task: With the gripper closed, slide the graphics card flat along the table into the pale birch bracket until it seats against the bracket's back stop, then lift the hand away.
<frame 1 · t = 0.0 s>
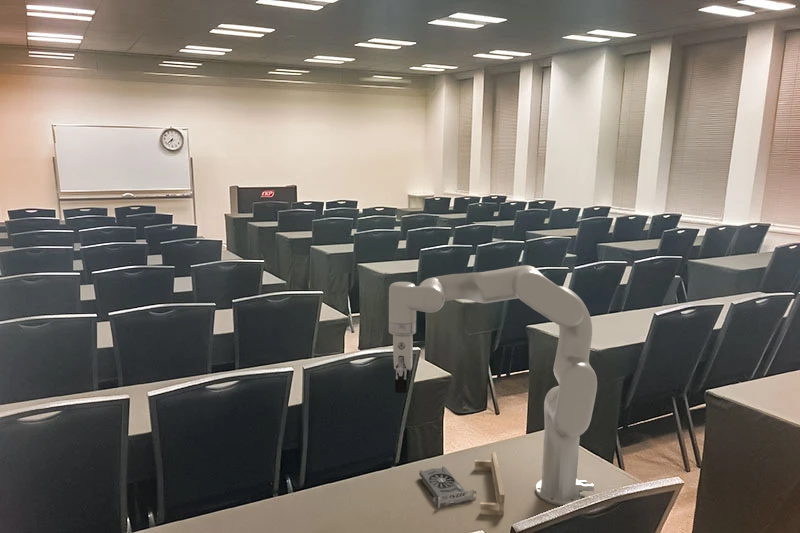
hand: (402, 385, 159), 31 cm above the table, tool pointing down, fingers open, 9 cm apart
graphics card: (445, 491, 164), on the table
birch bracket: (473, 489, 163), on the table
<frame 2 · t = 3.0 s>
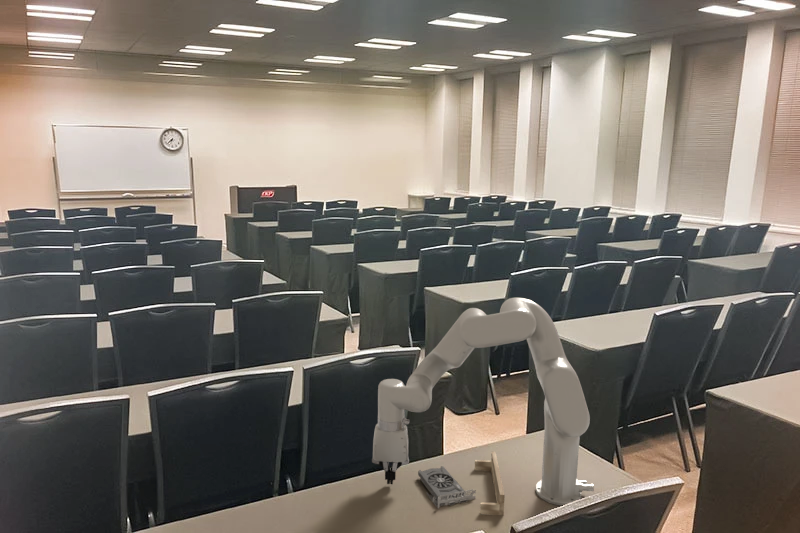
hand: (390, 481, 164), 2 cm above the table, tool pointing down, fingers closed
nothing on the table moved.
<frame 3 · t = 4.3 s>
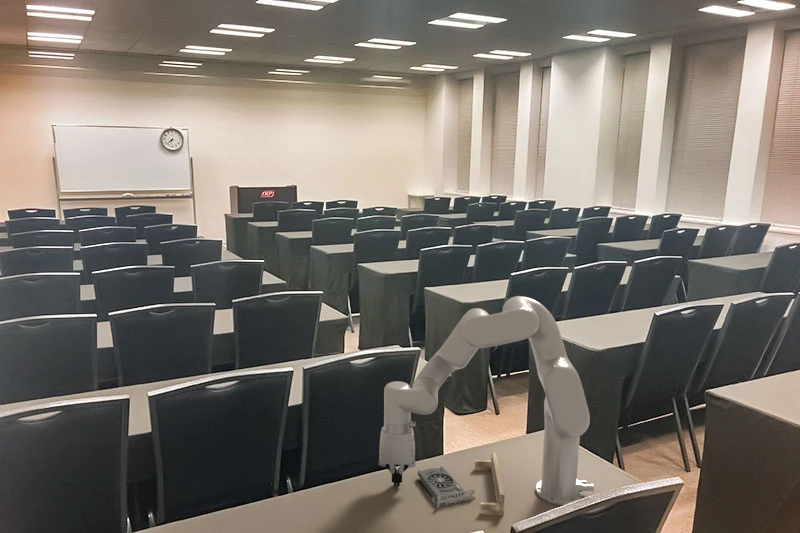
hand: (396, 484, 164), 1 cm above the table, tool pointing down, fingers closed
nothing on the table moved.
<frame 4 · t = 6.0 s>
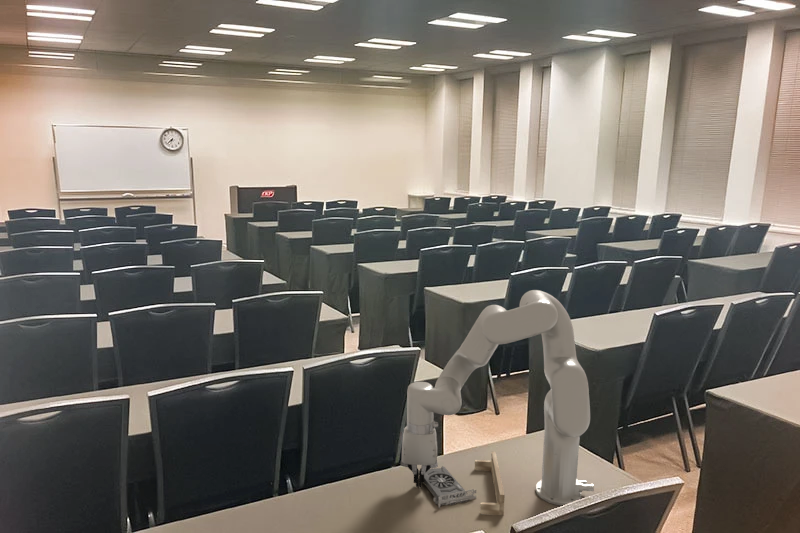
hand: (418, 484, 164), 1 cm above the table, tool pointing down, fingers closed
nothing on the table moved.
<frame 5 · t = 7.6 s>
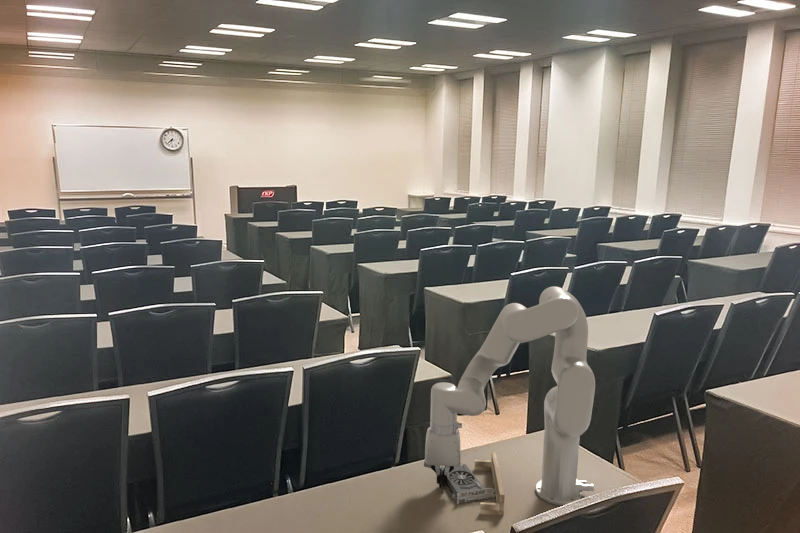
hand: (441, 485, 164), 1 cm above the table, tool pointing down, fingers closed
graphics card: (465, 488, 165), on the table, touching gripper
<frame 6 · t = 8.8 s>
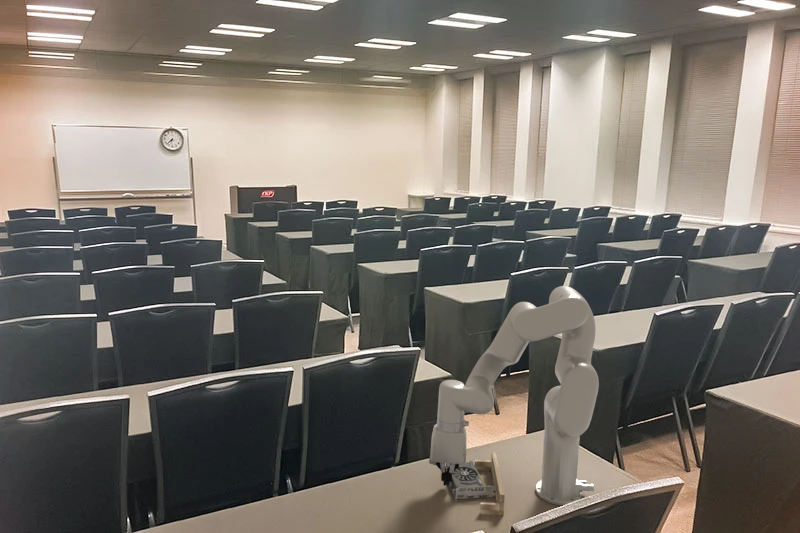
hand: (446, 483, 163), 2 cm above the table, tool pointing down, fingers closed
graphics card: (468, 484, 166), on the table, touching birch bracket, gripper
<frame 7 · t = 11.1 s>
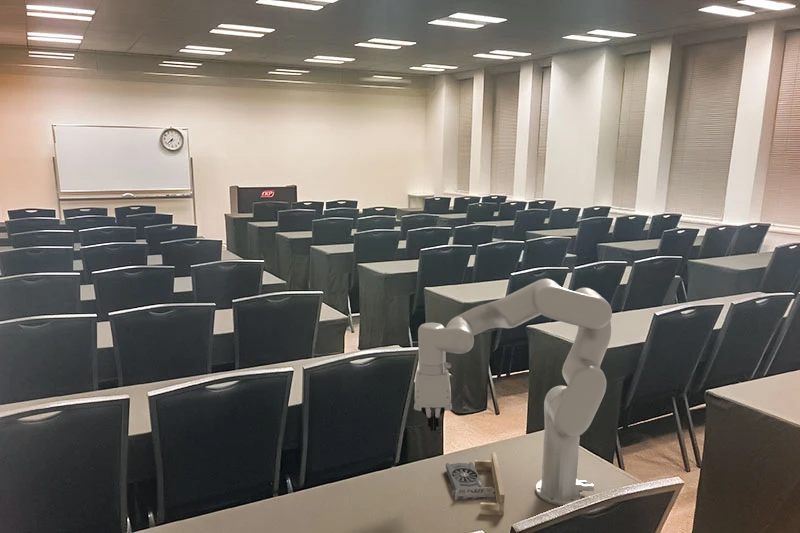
hand: (433, 428, 161), 18 cm above the table, tool pointing down, fingers closed
graphics card: (468, 485, 167), on the table
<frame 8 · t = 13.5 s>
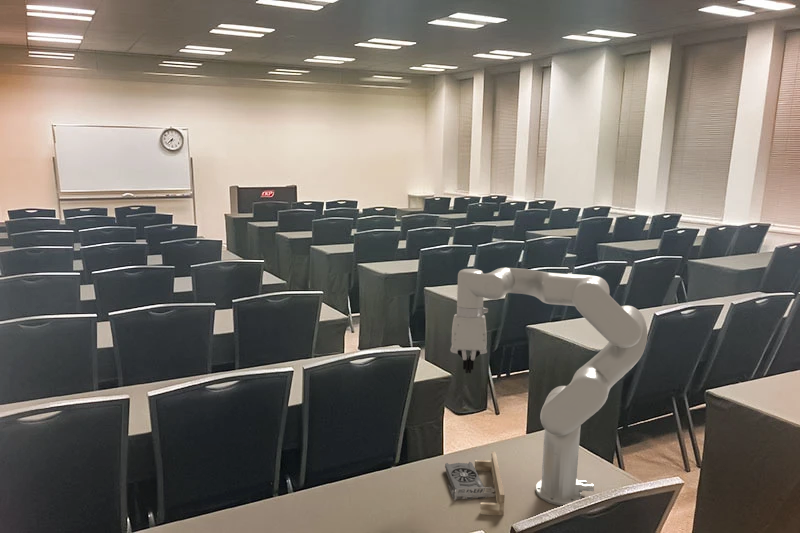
hand: (468, 371, 167), 32 cm above the table, tool pointing down, fingers closed
nothing on the table moved.
at the end: graphics card 3.4 cm from the target spot, on the table; graphics card tilted 0°; graphics card moved 7.3 cm from its start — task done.
